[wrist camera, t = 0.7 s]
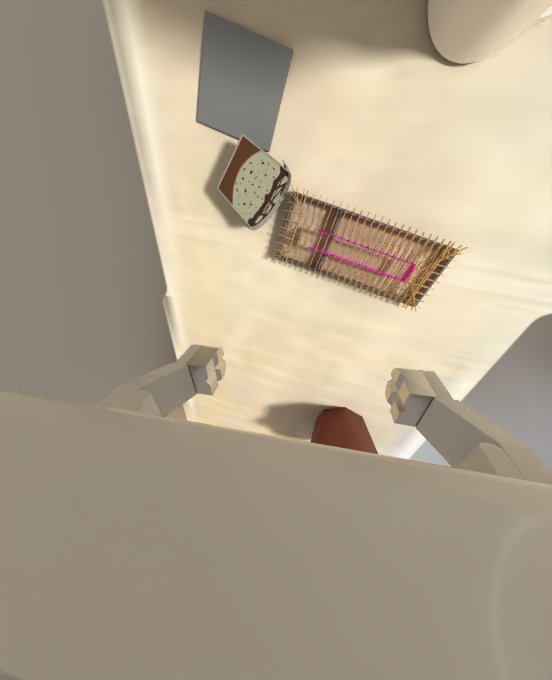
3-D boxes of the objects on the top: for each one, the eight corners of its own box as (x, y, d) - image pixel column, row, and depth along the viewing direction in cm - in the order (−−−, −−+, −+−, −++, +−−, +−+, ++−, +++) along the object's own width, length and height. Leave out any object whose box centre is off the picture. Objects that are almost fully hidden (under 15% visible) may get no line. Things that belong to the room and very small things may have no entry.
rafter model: (273, 257, 50) (268, 263, 45) (293, 185, 41) (289, 183, 36) (411, 306, 50) (420, 317, 45) (458, 244, 41) (476, 250, 36)
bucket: (302, 430, 85) (295, 503, 65) (311, 394, 73) (306, 470, 52) (363, 443, 82) (377, 524, 62) (384, 408, 70) (408, 495, 49)
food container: (228, 200, 45) (262, 233, 46) (212, 195, 40) (251, 233, 41) (260, 137, 39) (299, 177, 40) (247, 123, 34) (291, 169, 35)
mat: (207, 13, 31) (205, 10, 31) (292, 52, 32) (292, 49, 31) (198, 121, 38) (197, 120, 38) (269, 152, 39) (268, 151, 38)
